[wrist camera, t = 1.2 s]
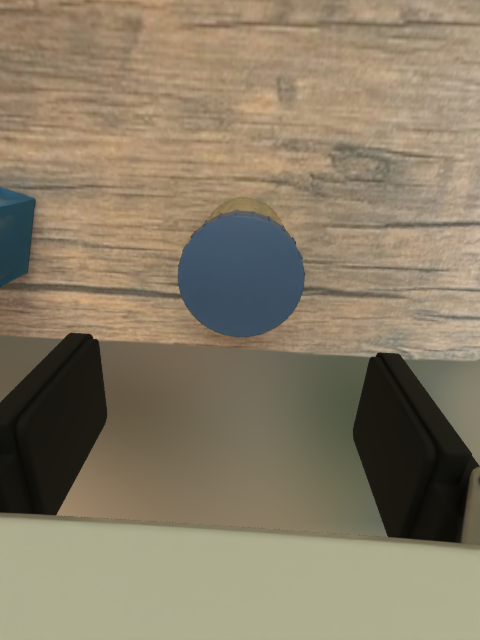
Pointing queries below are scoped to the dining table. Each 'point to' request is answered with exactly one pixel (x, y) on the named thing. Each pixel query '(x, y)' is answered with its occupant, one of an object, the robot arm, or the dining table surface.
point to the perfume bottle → (14, 234)
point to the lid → (241, 274)
